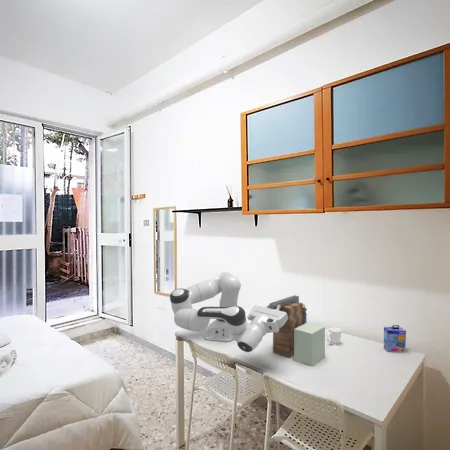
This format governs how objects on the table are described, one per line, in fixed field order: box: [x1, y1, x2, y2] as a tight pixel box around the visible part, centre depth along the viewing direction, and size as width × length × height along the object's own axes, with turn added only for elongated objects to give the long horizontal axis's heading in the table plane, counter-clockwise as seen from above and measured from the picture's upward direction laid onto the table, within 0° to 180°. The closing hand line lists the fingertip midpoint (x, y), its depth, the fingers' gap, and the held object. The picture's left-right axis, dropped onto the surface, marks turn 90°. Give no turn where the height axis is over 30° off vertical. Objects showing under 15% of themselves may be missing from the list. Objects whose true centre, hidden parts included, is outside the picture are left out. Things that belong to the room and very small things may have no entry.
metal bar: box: [269, 294, 300, 310], centre depth 163 cm, size 24×3×3 cm, turn 136°
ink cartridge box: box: [383, 324, 407, 353], centre depth 166 cm, size 10×6×14 cm, turn 87°
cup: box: [326, 327, 343, 346], centre depth 175 cm, size 7×10×8 cm
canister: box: [299, 301, 308, 324], centre depth 206 cm, size 13×13×18 cm
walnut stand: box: [272, 301, 304, 359], centre depth 165 cm, size 14×10×26 cm
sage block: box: [293, 322, 326, 367], centre depth 156 cm, size 14×10×16 cm
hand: (275, 304), depth 156 cm, fingers closed on metal bar, 3 cm apart
